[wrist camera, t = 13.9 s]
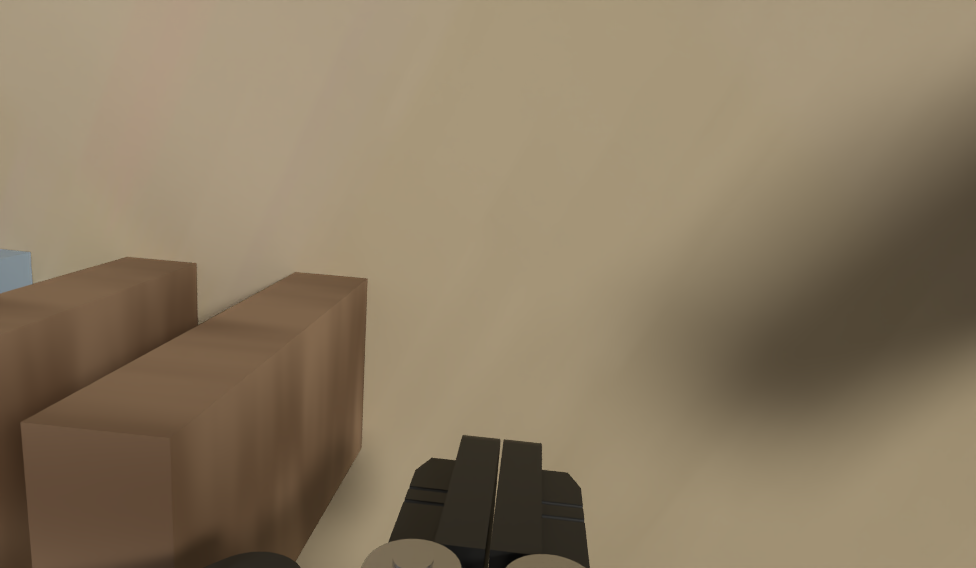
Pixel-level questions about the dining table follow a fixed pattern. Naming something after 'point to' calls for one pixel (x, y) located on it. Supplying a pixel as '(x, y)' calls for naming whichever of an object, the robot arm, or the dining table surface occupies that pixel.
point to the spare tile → (14, 269)
